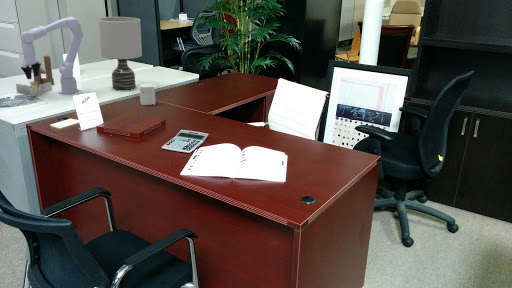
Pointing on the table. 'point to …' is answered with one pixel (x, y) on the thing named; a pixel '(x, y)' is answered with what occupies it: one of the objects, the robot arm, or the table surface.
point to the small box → (147, 94)
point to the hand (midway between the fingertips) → (32, 77)
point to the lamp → (121, 47)
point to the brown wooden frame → (47, 71)
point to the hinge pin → (33, 84)
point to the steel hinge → (34, 89)
